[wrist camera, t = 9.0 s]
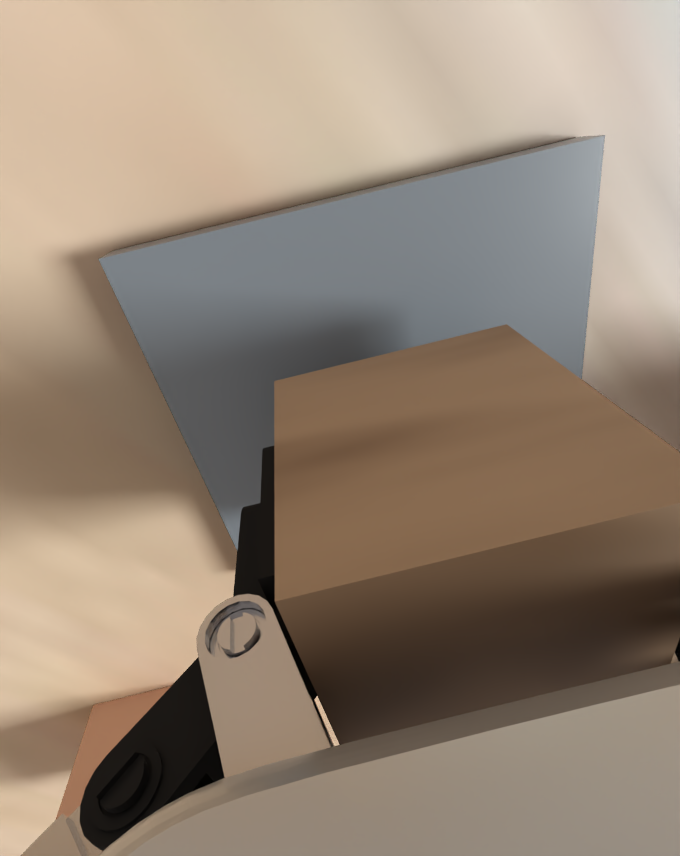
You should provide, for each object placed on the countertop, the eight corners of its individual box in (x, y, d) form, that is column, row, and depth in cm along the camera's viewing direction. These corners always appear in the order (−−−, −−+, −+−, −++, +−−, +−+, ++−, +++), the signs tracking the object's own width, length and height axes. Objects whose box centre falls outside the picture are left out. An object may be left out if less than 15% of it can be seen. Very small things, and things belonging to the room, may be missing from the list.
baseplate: (554, 495, 18) (568, 512, 17) (256, 568, 18) (255, 588, 17) (579, 136, 11) (605, 135, 10) (111, 251, 11) (98, 259, 10)
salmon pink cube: (245, 730, 24) (237, 886, 19) (144, 754, 24) (109, 917, 19) (208, 675, 21) (187, 842, 16) (93, 703, 21) (36, 879, 16)
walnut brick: (507, 500, 13) (652, 715, 8) (326, 544, 13) (359, 786, 8) (506, 324, 10) (731, 490, 5) (274, 381, 10) (275, 601, 5)
